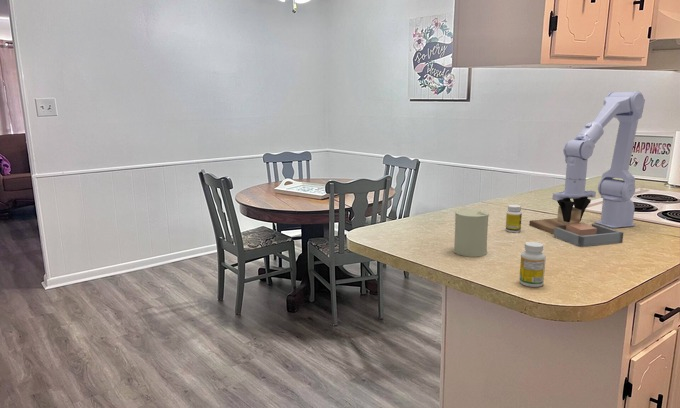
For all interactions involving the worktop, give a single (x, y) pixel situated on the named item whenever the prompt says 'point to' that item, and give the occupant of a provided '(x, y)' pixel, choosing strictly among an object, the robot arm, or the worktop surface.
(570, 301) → the worktop surface
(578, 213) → the tall beige block
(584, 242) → the tray
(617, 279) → the worktop surface
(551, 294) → the worktop surface
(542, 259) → the supplement bottle
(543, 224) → the board
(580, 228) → the pink square block
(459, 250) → the can
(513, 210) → the supplement bottle
